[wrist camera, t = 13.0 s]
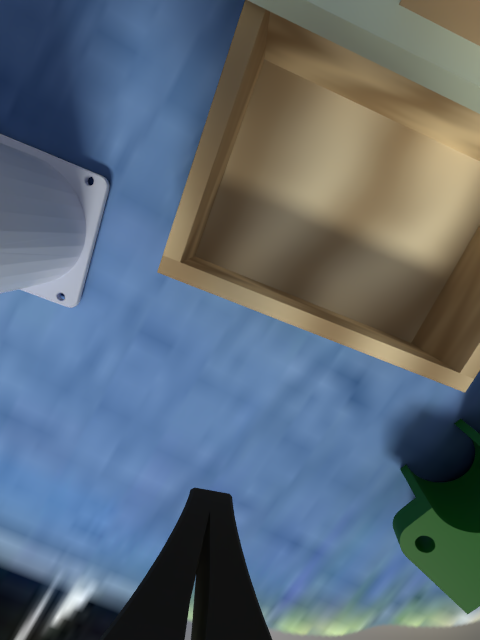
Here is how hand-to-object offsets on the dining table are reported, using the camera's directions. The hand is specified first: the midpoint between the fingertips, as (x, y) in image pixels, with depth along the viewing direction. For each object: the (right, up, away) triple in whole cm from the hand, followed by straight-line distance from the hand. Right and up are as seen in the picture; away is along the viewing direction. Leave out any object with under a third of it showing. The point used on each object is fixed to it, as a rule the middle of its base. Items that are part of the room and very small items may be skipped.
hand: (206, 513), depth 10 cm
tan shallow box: (+8, +15, +7) cm, 18 cm away
